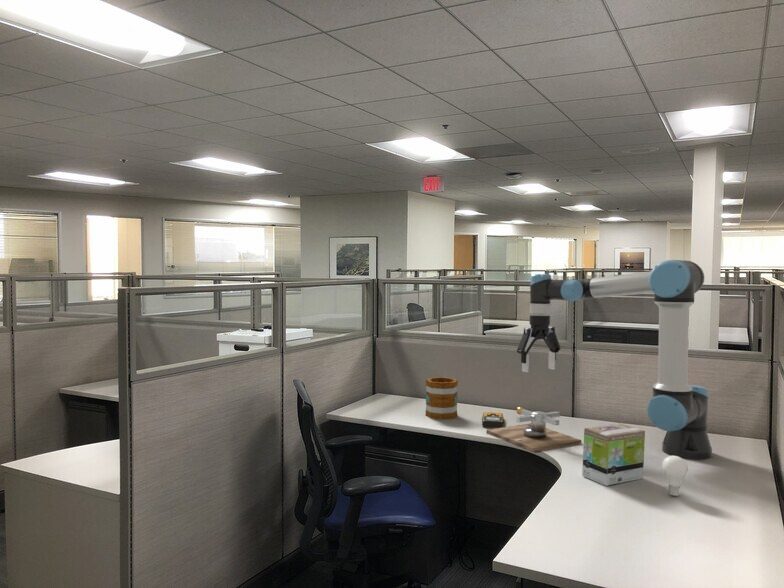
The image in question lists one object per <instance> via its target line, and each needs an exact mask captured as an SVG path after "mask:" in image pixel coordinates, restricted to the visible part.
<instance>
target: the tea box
mask: <svg viewBox="0 0 784 588" xmlns="http://www.w3.org/2000/svg"><path fill="white" fill-rule="evenodd" d="M645 439H646V431H645V430H642V429H639V428H636V427H633V426H630V425H626V424H624V423H619V422H618V423H612V424H607V425H606V424H605V425H604V424H603V425H597V426H591V427H584V430H583V449H582V452H583V454H582V467H581V468H582V471H581V472H582V473H581V474H582V475H581V476H583V477H584V478H587V479H589V480H591V481H594V482H596V483H598V484H601V485H603V486H606V487H608V486H610V485H615V484H621V483H626V482H632V481H639V480H642V479H643V478H644V463H645V461H644V460H645V441H646V440H645Z"/></svg>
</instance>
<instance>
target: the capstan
mask: <svg viewBox="0 0 784 588" xmlns="http://www.w3.org/2000/svg"><path fill="white" fill-rule="evenodd" d="M516 414H518V415H519V416H516V422H518V423H525V422H526V423H527V422H530V423H531V427H525V428H524V435H525V436H527V437H532V438H543V437H546V428H547V427H546V424H547V423H548V424H550V425H553V426H560V419H556V418H560V417H561V412H560V411H550V412H544V411H539V410H538V411H537V410H536V411H532V410H528V409H524V408H523V407H521V406H519V407H517V409H516ZM520 415H521V416H520Z"/></svg>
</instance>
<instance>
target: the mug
mask: <svg viewBox="0 0 784 588" xmlns="http://www.w3.org/2000/svg"><path fill="white" fill-rule="evenodd" d="M458 383H459V380H458V379H456V378H453V377H445V376H444V377H442V376H439V377H429V378H427V379H425V385H426V387H425V388H426V390H425V416H426V417H427V418H429V419H432V420H433V419H434V420H440V421H442V420H444V421H445V420H452V419H453V420H454V419H455V418H456V417H458V400H459V399H458V398H459V397H458Z"/></svg>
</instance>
